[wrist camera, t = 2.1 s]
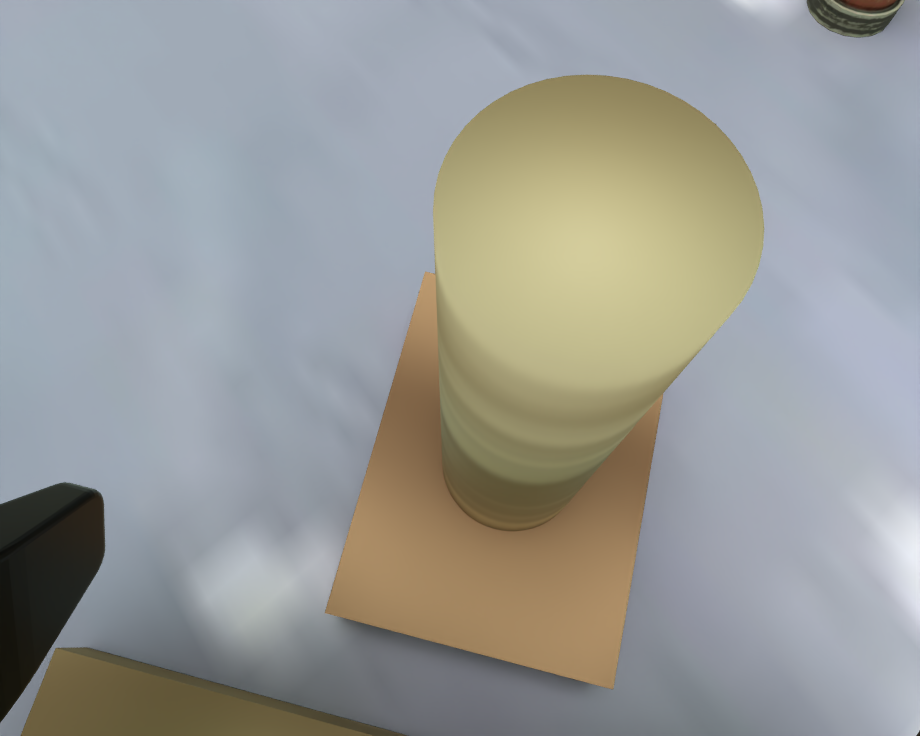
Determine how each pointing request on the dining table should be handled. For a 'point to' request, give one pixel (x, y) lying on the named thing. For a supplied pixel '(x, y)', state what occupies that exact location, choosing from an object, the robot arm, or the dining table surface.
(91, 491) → the robot arm
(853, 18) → the lighter
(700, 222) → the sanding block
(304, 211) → the dining table surface
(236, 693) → the board
